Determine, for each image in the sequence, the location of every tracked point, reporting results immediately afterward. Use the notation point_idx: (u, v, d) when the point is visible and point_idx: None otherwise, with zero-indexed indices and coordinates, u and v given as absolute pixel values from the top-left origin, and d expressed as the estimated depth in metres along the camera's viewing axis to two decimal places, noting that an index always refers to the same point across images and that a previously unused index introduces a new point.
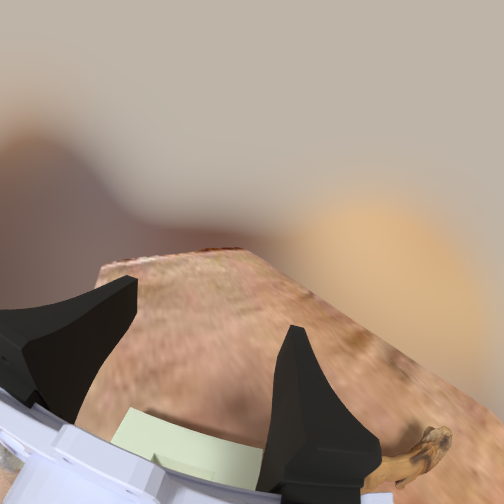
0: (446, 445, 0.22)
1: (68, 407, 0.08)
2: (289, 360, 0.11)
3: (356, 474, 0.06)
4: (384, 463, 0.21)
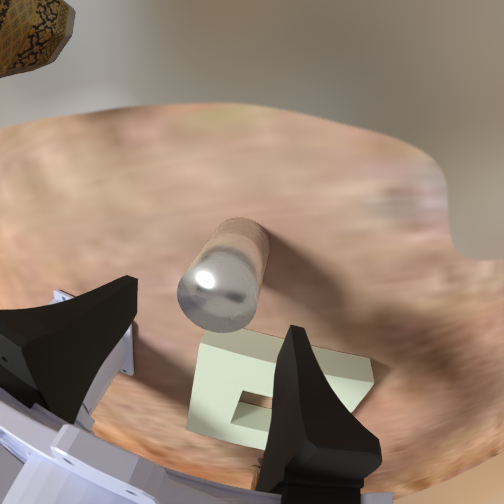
0: None
1: (68, 407, 0.08)
2: (289, 360, 0.11)
3: (356, 474, 0.06)
4: None
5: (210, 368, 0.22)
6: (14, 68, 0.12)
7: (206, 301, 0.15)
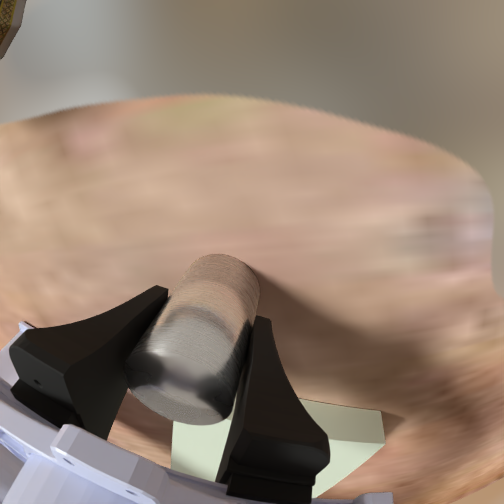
0: None
1: (102, 425, 0.08)
2: (250, 350, 0.11)
3: (305, 470, 0.06)
4: None
5: (189, 427, 0.17)
6: None
7: (163, 391, 0.09)
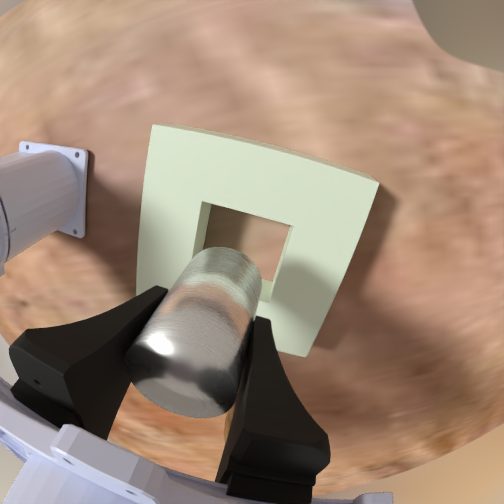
0: None
1: (102, 425, 0.08)
2: (250, 350, 0.11)
3: (305, 470, 0.06)
4: None
5: (162, 165, 0.18)
6: None
7: (165, 383, 0.09)
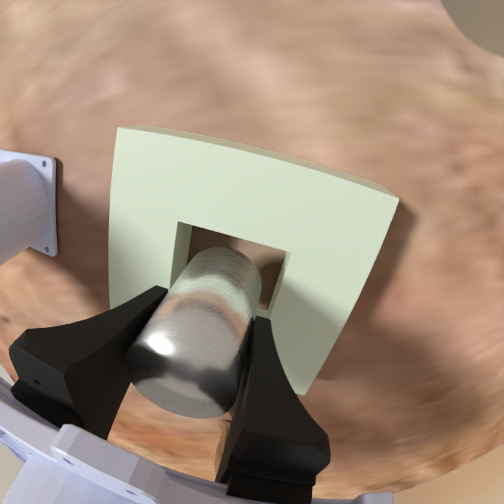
0: None
1: (102, 425, 0.08)
2: (249, 350, 0.11)
3: (305, 470, 0.06)
4: None
5: (130, 177, 0.14)
6: None
7: (165, 383, 0.09)
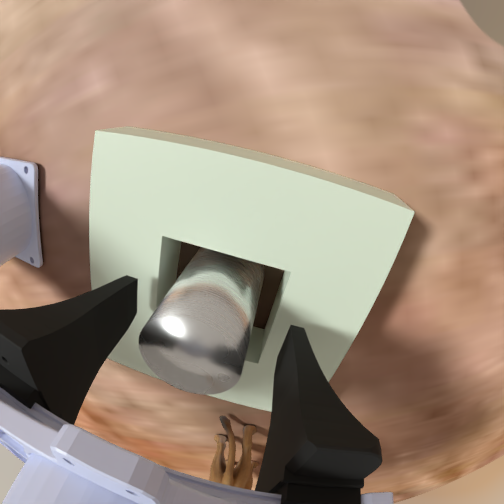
0: None
1: (68, 407, 0.08)
2: (289, 360, 0.11)
3: (356, 474, 0.06)
4: None
5: (109, 186, 0.12)
6: None
7: (176, 360, 0.10)
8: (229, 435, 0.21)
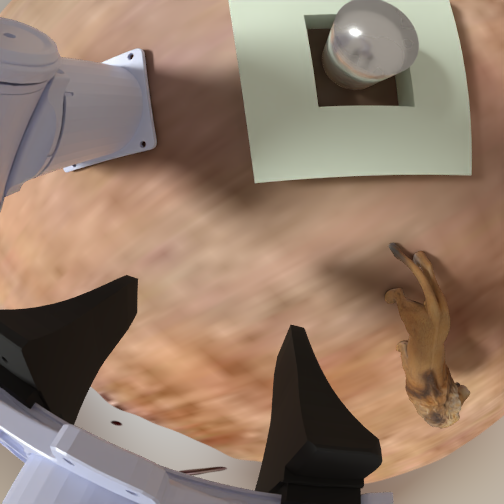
0: (429, 420, 0.17)
1: (68, 407, 0.08)
2: (289, 360, 0.11)
3: (356, 474, 0.06)
4: (435, 336, 0.16)
5: None
6: None
7: (370, 38, 0.10)
8: (407, 260, 0.19)
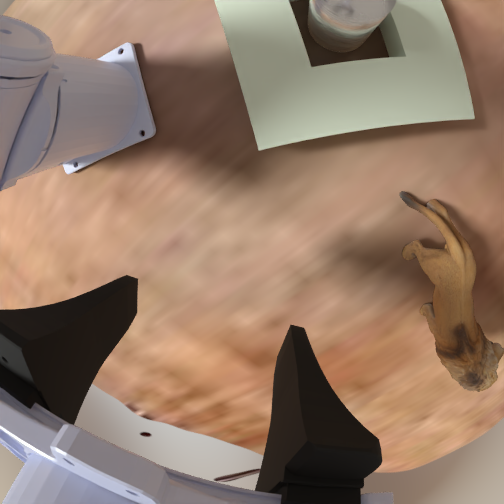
0: (466, 383, 0.15)
1: (68, 407, 0.08)
2: (289, 360, 0.11)
3: (356, 474, 0.06)
4: (462, 280, 0.14)
5: None
6: None
7: None
8: (421, 207, 0.17)
